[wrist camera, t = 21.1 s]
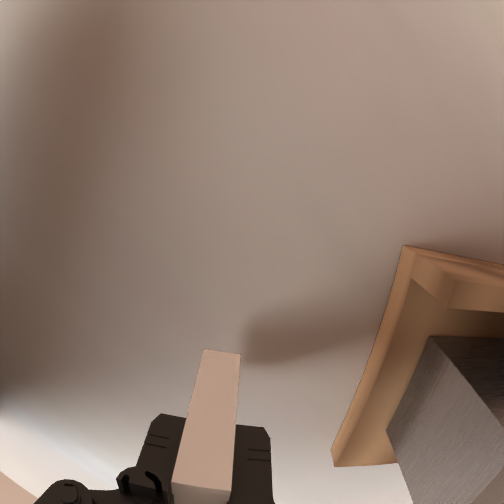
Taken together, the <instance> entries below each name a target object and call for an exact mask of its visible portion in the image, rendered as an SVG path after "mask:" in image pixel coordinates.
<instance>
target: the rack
mask: <svg viewBox="0 0 504 504" xmlns="http://www.w3.org/2000/svg"><path fill="white" fill-rule="evenodd" d="M429 336H448V337H481V338H504V265H501V264H496V263H491V262H486V261H481V260H477V259H472V258H467V257H462V256H457V255H451V254H446V253H441V252H436V251H431V250H425V249H420V248H415V247H409V246H404V245H403V247H402V252H401V256H400V260H399V263H398V267H397V271H396V275H395V279H394V282H393V286H392V289H391V293H390V296H389V300H388V303H387V306H386V310H385V313H384V316H383V319H382V322H381V325H380V328H379V331H378V334H377V337H376V340H375V343H374V346H373V349H372V352H371V355H370V357H369V360H368V363H367V365H366V368H365V371H364V373H363V376H362V379H361V381H360V384H359V386H358V389H357V391H356V394H355V396H354V399H353V401H352V403H351V406H350V408H349V410H348V413H347V415H346V417H345V420H344V422H343V424H342V426H341V429H340V431H339V433H338V435H337V437H336V439H335V441H334V444H333V446H332V448H331V453H332V458H333V462H334V467H348V466H367V465H380V464H391V463H398V461H397V458H396V456H395V453H394V451H393V448H392V445H391V443H390V440H389V438H388V435H387V433H386V431H385V430H386V428H387V426H388V425H389V423H390V421H391V419H392V417H393V415H394V413H395V411H396V409H397V407H398V405H399V403H400V401H401V399H402V397H403V395H404V393H405V391H406V389H407V387H408V384H409V382H410V380H411V378H412V376H413V373H414V371H415V369H416V367H417V364H418V362H419V360H420V357H421V355H422V352H423V350H424V347H425V345H426V342H427V340H428V337H429Z"/></svg>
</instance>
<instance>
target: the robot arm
mask: <svg viewBox="0 0 504 504" xmlns="http://www.w3.org/2000/svg"><path fill="white" fill-rule="evenodd" d="M240 358H241V354H234V353H227V352H220V351H213V350H206V349H204V351H203V355H202V359H201V362H200V366H199V370H198V374H197V378H196V382H195V386H194V390H193V394H192V398H191V402H190V406H189V410H188V414H187V418H183V417H177V416H172V415H167V414H162V413H161V414H160V415H158V416H157V417H156V418H155V419H154V420H153V421H152V422H151V425H150V427H149V430H148V433H147V436H146V439H145V441H144V445H143V447H142V450H141V453H140V456H139V459H138V461H137V464H136V466H135V467H130V468H127V469H125V470H124V471H122V472H120V474H119V475H118V477H117V478H116V480H117V484H118V487H119V489H116V490H108V491H106V490H88V488H86V487H85V486H84V485H83V484H82V483H80V482H77V481H75V480H68V479H64V480H60V481H57V482H55V483H54V484H52V485H51V486H50V487H49V488H48V489H47V490H46V491H45V492H44V493H43V494H42V496H41V497H40V498H39V499H38V500H37V501H36V502H35V503H34V504H275V503H274V500H273V492H272V468H271V453H270V452H271V445H270V437H269V436H268V434H267V432H266V430H265V429H264V427H255V426H245V425H236V414H237V400H238V386H239V372H240Z"/></svg>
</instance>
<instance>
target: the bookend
mask: <svg viewBox="0 0 504 504" xmlns="http://www.w3.org/2000/svg"><path fill="white" fill-rule="evenodd" d="M385 431H386V433H387V435H388V438H389V440H390V443H391V445H392V448H393V451H394V453H395V456H396V458H397V461H398V463H399V466H400V468H401V471H402V474H403V476H404V479H405V482H406V484H407V487H408V490H409V492H410V495H411V498H412V500H413V503H414V504H504V338H481V337H448V336H429V337H428V340H427V342H426V345H425V347H424V350H423V352H422V355H421V357H420V360H419V362H418V364H417V367H416V369H415V371H414V373H413V376H412V378H411V380H410V382H409V384H408V387H407V389H406V391H405V393H404V395H403V397H402V399H401V401H400V403H399V405H398V407H397V409H396V411H395V413H394V415H393V417H392V419H391V421H390V423H389V425H388V426H387V428H386V430H385Z"/></svg>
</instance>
